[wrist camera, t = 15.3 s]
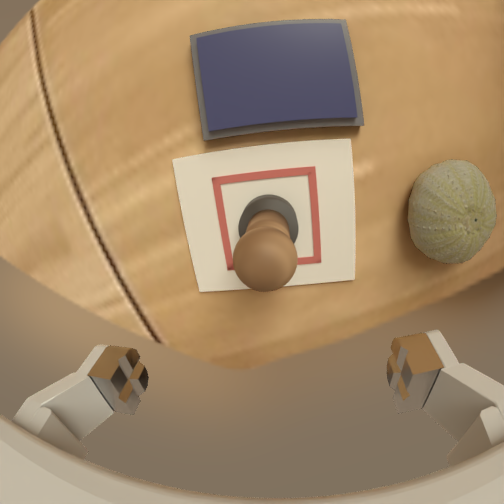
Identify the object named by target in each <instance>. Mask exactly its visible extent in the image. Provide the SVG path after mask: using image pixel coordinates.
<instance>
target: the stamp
mask: <svg viewBox="0 0 504 504" xmlns="http://www.w3.org/2000/svg"><path fill="white" fill-rule="evenodd" d="M238 231H239V236H240V239H239V241H238V242H237V244H236V246H235V249H234V252H233V267H234V270H235V273H236V275H237V276H238V278H239V279H240V280H241V282H242V283H244V284H245V285H246V286H247V287H249V288H251V289H253V290H256V291H261V292H269V291H274V290H277V289H279V288H281V287H283V286H284V285H286V284H287V283H288V282H289V281H290V280H291V278H292V277H293V275H294V273H295V271H296V268H297V263H298V256H297V251H296V248H295V245H294V243H295V241H296V239H297V236H298V231H299V227H298V221H297V217H296V213H295V211H294V209H293V207H292V205H291V204H290V203H289V202H288V201H287V200H285V199H284V198H282V197H280V196H277V195H271V194H267V195H261V196H258V197H256V198H254V199H253V200H251V201H250V202H249V203H248V204H247V206H246V207H245V209H244V211H243V213H242V215H241V217H240V220H239V225H238Z"/></svg>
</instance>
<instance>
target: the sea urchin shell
mask: <svg viewBox="0 0 504 504" xmlns="http://www.w3.org/2000/svg"><path fill="white" fill-rule="evenodd" d="M495 204H496V203H495V197H494V196H493V193H492V191H491V188H490V186H489V182H488V181H487V179H486V178H485V176H484V175H483V174H482V173H481V171H480V170H479V168H477V166H475V165H473V164H471V163H470V162H468V161H467V160H466V161H464V160H453V159H451V160H446V161H445V162H442V163H439V164H435V165H432V166H431V167H430V168H429V169H427V170H426V171H425V172H423V173H421V174H420V175H419V177H418V178H417V180H416V181H415V182H414V186H413V189H412V193H411V196H410V198H409V209H408V219H407V221H408V223H409V228H410V235H411V240H413V242H414V245H415V247H416V248H418V249H419V250H420V251H421V252H423V253H424V254H425V255H426V256H427V257H429V258H430V259H431V258H432V259H435V260H437V261H439V262H442V263H446V264H447V263H449V264H450V263H457V264H458V263H463V262H465V261H468V260H470V259H471V258H472V257H473V256H474V255H475V254H476V253H477V252H478V251H480V249H481V248H482V247H483V245H484V243H485V242H486V241H487V240H488V238H489V237H490V234H491V232H492V230H493V228H494V226H495V222H496V217H497V215H496V207H495Z"/></svg>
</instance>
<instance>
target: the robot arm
mask: <svg viewBox="0 0 504 504" xmlns="http://www.w3.org/2000/svg"><path fill="white" fill-rule="evenodd" d="M391 350H392V352H393V354H392V355H391V356H390V357H389V358H388V363H387V379H388V382H389V386H390V387H391V388H392V389H394V390H395V393H394V396H393V399H394V402H395V406H396V409H397V413H398V414H399V413H403V412H409V411H413V410H418V409H422V408H423V411H424V412H425V413H427V414H428V415H429V416H430V417H431V418H432V419H433V420H434V421H435V422H437V423H438V424H439V425H440V426H441V427H442V428H443V429H444V430H445V431H447V432H448V433H449V434H450V435H451V436H452V437H453V438H454V439H455V440H457V441H458V443H457V444H456V445H455V446H454V448H453V449H452V450H451V451H450V452H449V454H448V455H447V459H448V463H449V467H448V468H445V469H442V470H440V471H437V472H434V473H431V474H428V475H425V476H422V477H418V478H415V479H412V480H408V481H405V482H401V483H397V484H393V485H388V486H384V487H380V488H375V489H370V490H365V491H358V492H352V493H345V494H338V495H329V496H318V497H305V498H250V497H235V496H225V495H216V494H207V493H201V492H194V491H189V490H183V489H178V488H173V487H169V486H164V485H160V484H156V483H152V482H148V481H144V480H140V479H137V478H134V477H130V476H127V475H124V474H121V473H118V472H115V471H112V470H109V469H106V468H104V467H101V466H99V465H96V464H93V463H91V462H88V461H86V460H84V459H85V457H86V455H87V453H88V450H87V448H86V447H85V446H84V445H83V444H82V443H81V442H80V440H82V439H83V438H84V437H85V436H86V435H88V434H89V433H90V432H91V431H92V430H94V429H95V428H96V427H97V426H99V425H100V424H101V423H102V422H103V421H105V420H106V419H107V418H108V417H109V416H111V415H112V414H113V413H114V411H115V412H120V413H125V414H130V415H134V414H135V411H136V409H137V407H138V405H139V403H140V398H139V395H140V394H142V393H143V392H145V390H146V388H147V386H148V378H149V377H148V373H147V370H146V368H145V366H144V365H143V364H142V363H140V362H139V359H140V356H139V354H138V352H137V350H136V349H133V348H127V347H119V346H111V345H110V346H109V345H102V344H99V345H97V346H96V347H95V348H94V349H93V351H92V352H91V353H90V355H89V356H88V357H87V358H86V360H85V361H84V363H83V364H82V365H81V367H80V368H79V369H78V371H77V372H76V373H71V374H70V375H68V376H66V377H64V378H63V379H61V380H59V381H57V382H56V383H54V384H52V385H50V386H49V387H47V388H45V389H43V390H42V391H39V392H38V393H36V394H34V395H33V396H31V397H29V398H27V400H26V401H25V403H24V404H23V405H22V407H21V408H20V410H19V411H18V412H17V414H16V415H15V417H14V418H13V420H12V421H10V420H9V419H7V418H6V417H4V416H3V415H1V414H0V504H504V386H503V385H501V384H500V383H498V382H497V381H495V380H493V379H491V378H489V377H488V376H486V375H484V374H482V373H481V372H479V371H477V370H475V369H474V368H472V367H470V366H468V365H466V364H464V363H460V364H459V362H458V361H457V359H456V357H455V355H454V353H453V352H452V350H451V348H450V347H449V345H448V343H447V342H446V340H445V338H444V337H443V335H442V334H441V332H440V331H439V330H433V331H428V332H424V333H419V334H414V335H408V336H403V337H397V338H394V339H393V341H392V345H391Z"/></svg>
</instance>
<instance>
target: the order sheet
mask: <svg viewBox="0 0 504 504" xmlns="http://www.w3.org/2000/svg"><path fill="white" fill-rule="evenodd" d="M172 161H173V167H174V173H175V178H176V184H177V189H178V195H179V200H180V205H181V210H182V215H183V220H184V225H185V230H186V234H187V239H188V244H189V248H190V253H191V257H192V261H193V266H194V270H195V274H196V279H197V283H198V287H199V291H200V292H207V291H225V290H240V289H251V288H249V287H247V286H246V285H245V284H244V283H242V282H241V280H240V279H239V278H238V276H237V275H236V273H235V270H234V267H233V252H234V249H235V246H236V244H237V242H238V241H239V239H240V236H239V231H238V225H239V220H240V217H241V215H242V213H243V211H244V209H245V207H246V206H247V204H248V203H249V202H250V201H251V200H253V199H254V198H256V197H258V196H261V195H267V194H271V195H277V196H280V197H282V198H284V199H285V200H287V201H288V202H289V203H290V204H291V205H292V207H293V209H294V211H295V213H296V217H297V221H298V227H299V231H298V236H297V239H296V241H295V243H294V245H295V248H296V251H297V256H298V263H297V268H296V271H295V273H294V275H293V277H292V278H291V280H290V281H289V282H288V283H287V284H286V285H284V286H293V285H304V284H315V283H326V282H336V281H346V280H355V194H354V175H353V160H352V148H351V139H328V140H311V141H298V142H286V143H276V144H267V145H258V146H250V147H243V148H235V149H229V150H222V151H216V152H210V153H204V154H198V155H192V156H187V157H182V158H177V159H172Z"/></svg>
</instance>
